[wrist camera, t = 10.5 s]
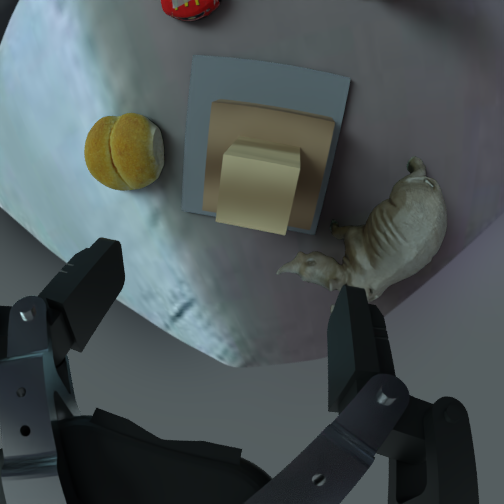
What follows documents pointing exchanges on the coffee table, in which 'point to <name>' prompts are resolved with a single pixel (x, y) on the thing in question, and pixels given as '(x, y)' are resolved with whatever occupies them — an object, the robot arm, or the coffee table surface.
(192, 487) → the robot arm
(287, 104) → the slate mat
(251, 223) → the oak block
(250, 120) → the tan flat square slab
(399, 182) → the rhinoceros figurine
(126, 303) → the coffee table surface
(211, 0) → the race car
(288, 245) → the coffee table surface
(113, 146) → the bread roll
